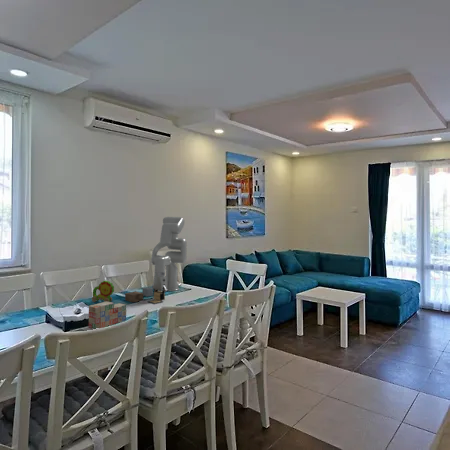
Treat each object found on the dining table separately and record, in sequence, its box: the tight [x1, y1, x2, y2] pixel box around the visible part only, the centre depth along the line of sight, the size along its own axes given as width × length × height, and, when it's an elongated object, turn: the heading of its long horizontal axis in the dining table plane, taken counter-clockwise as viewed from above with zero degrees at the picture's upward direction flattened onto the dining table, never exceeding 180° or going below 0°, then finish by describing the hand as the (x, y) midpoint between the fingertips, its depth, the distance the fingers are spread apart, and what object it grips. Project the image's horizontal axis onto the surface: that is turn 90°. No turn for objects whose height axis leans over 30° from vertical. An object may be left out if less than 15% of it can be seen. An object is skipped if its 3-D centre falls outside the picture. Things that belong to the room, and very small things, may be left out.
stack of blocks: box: [88, 301, 127, 330], centre depth 205 cm, size 21×6×12 cm, turn 147°
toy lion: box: [91, 279, 115, 303], centre depth 252 cm, size 16×5×15 cm, turn 74°
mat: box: [147, 299, 164, 305], centre depth 255 cm, size 8×8×1 cm
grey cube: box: [141, 286, 154, 297], centre depth 274 cm, size 6×6×6 cm
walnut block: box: [124, 290, 144, 303], centre depth 259 cm, size 9×9×5 cm
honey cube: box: [153, 290, 166, 301], centre depth 263 cm, size 6×6×6 cm
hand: (159, 298), depth 263 cm, fingers closed on honey cube, 5 cm apart
